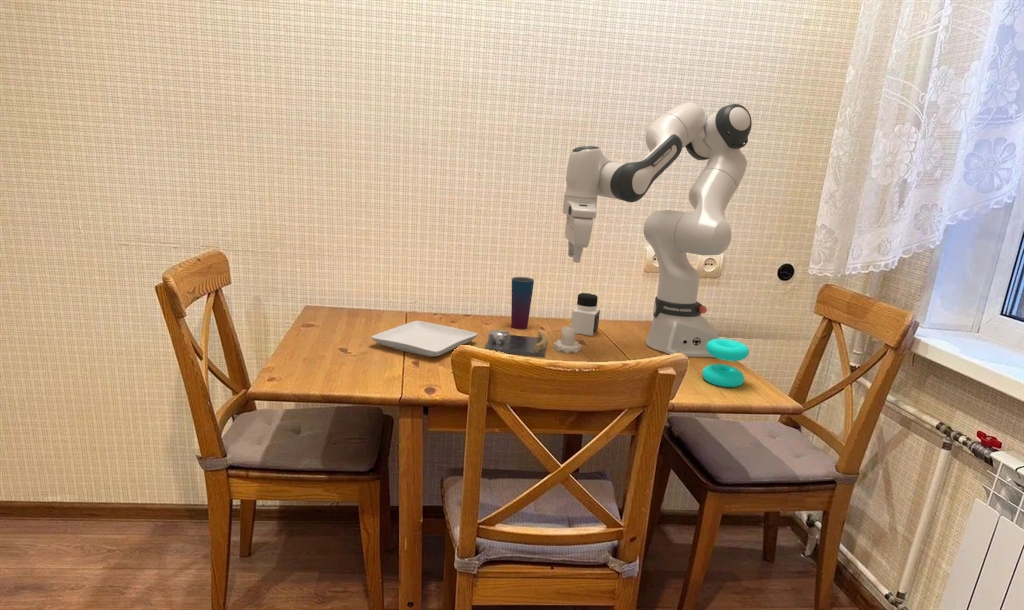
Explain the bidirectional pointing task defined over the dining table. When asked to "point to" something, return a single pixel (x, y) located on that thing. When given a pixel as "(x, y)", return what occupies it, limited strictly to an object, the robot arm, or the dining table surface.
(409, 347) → the salad plate
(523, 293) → the cup
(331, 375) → the dining table surface
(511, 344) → the carrier plate
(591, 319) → the medicine bottle
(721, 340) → the donuts
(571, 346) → the planet gear
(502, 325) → the dining table surface
